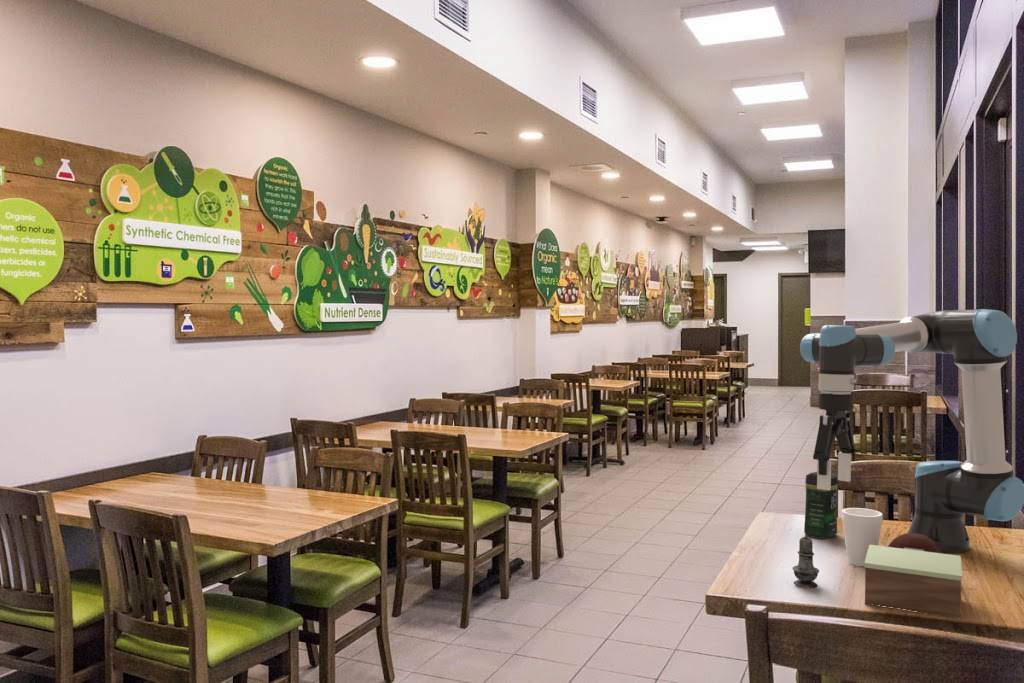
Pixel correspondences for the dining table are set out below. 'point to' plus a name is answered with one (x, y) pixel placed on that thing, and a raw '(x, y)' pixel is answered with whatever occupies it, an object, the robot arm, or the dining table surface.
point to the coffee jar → (820, 508)
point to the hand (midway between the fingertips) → (834, 485)
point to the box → (913, 592)
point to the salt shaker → (805, 565)
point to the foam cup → (860, 532)
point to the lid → (914, 562)
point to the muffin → (915, 542)
